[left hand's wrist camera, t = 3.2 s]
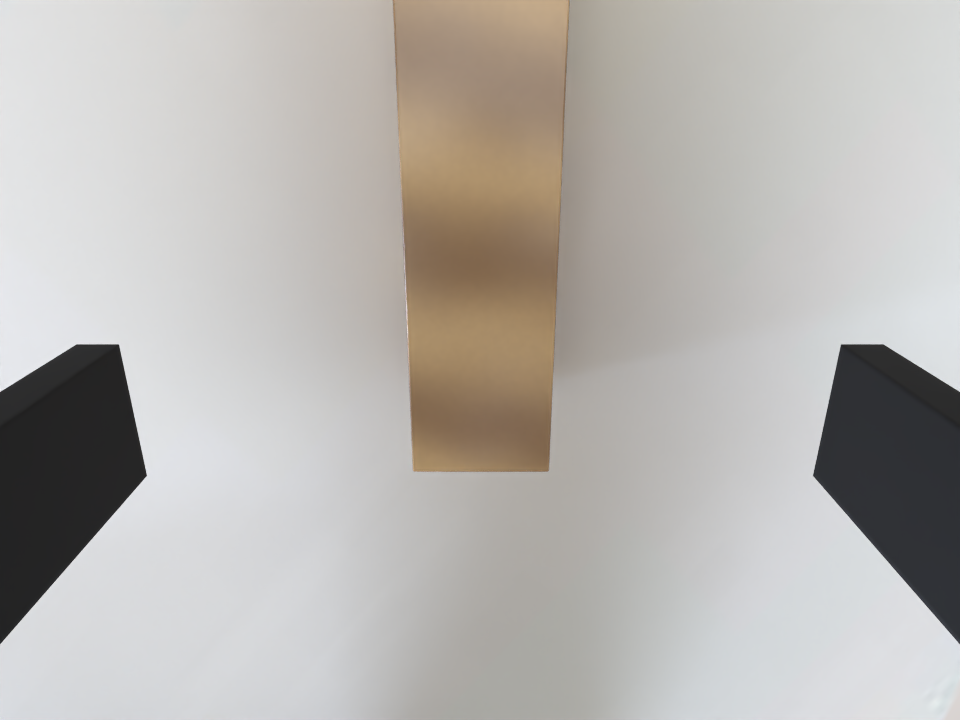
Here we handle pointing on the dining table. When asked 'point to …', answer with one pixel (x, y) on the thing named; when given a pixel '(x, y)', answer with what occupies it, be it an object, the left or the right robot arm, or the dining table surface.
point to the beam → (481, 225)
